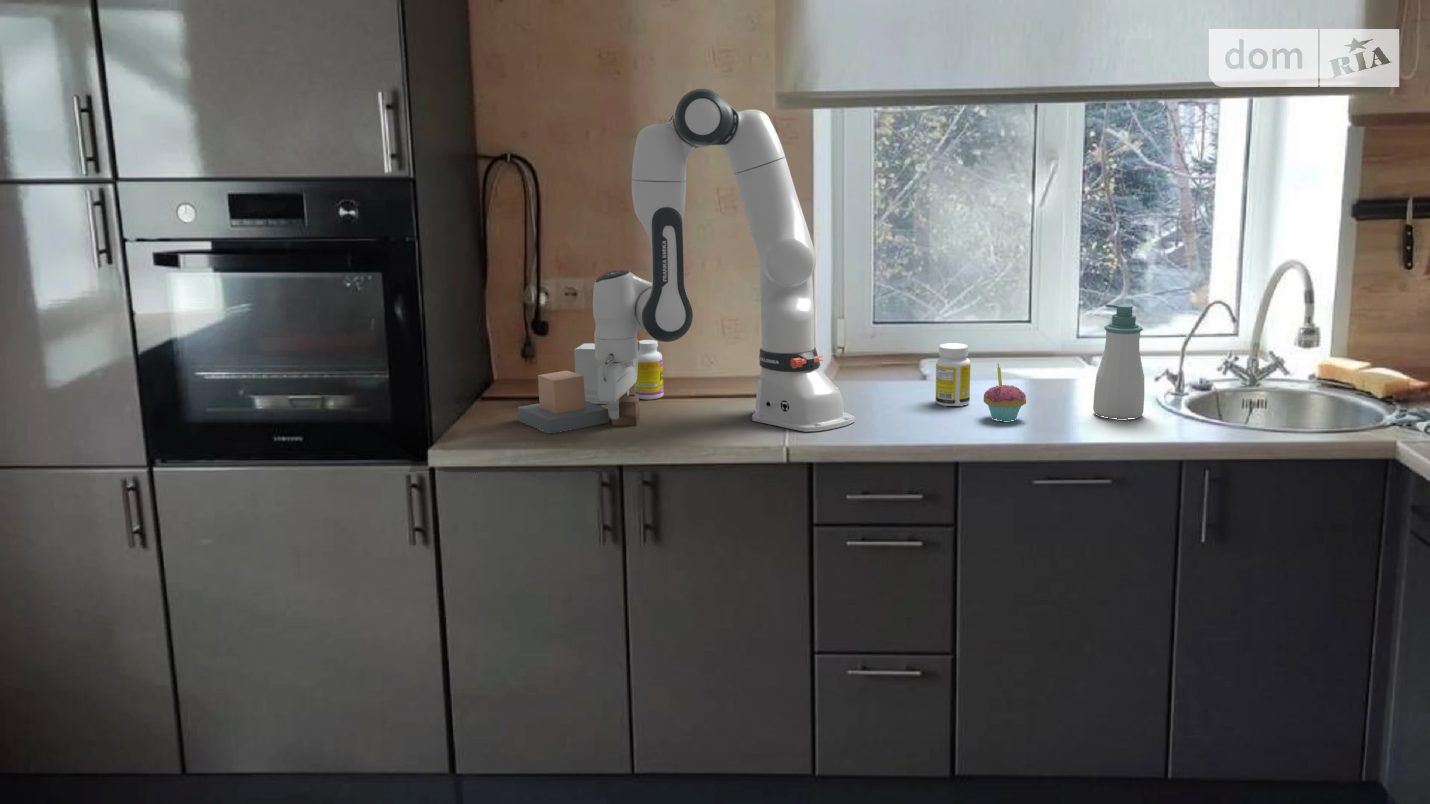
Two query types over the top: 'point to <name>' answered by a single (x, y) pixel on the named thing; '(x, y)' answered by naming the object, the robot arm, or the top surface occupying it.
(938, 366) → the supplement bottle
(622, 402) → the walnut block
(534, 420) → the base slab
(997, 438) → the top surface
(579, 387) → the terracotta block
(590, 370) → the supplement box
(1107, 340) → the soap bottle
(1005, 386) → the cupcake
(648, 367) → the supplement bottle
